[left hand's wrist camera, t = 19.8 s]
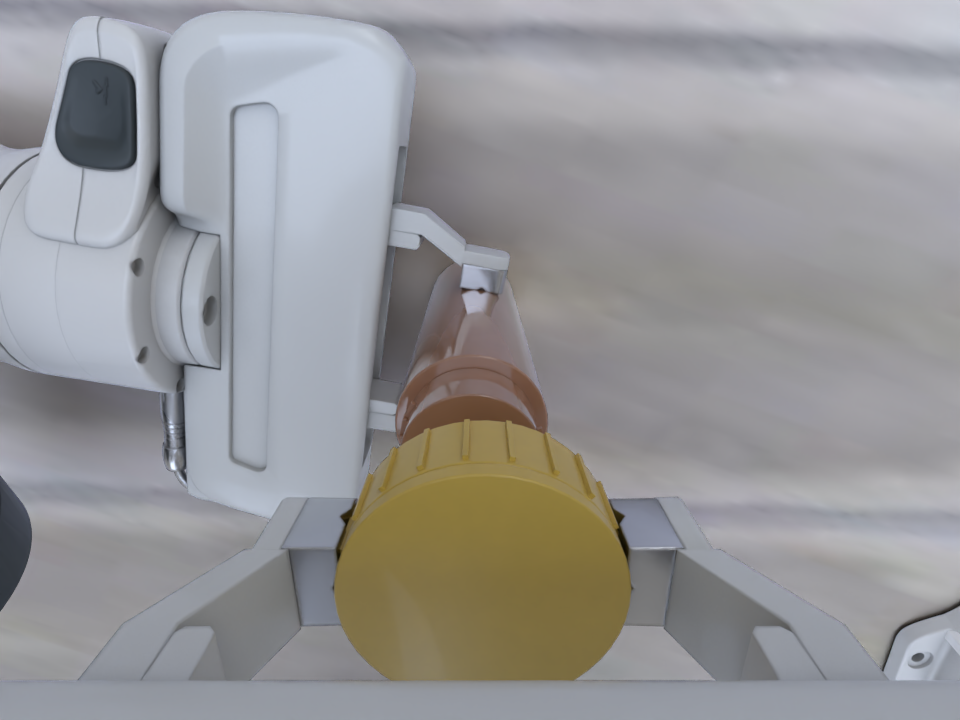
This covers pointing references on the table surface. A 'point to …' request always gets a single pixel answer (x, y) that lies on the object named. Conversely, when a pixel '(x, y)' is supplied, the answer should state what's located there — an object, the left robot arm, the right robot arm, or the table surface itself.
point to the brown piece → (469, 363)
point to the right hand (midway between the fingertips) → (493, 337)
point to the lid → (482, 559)
